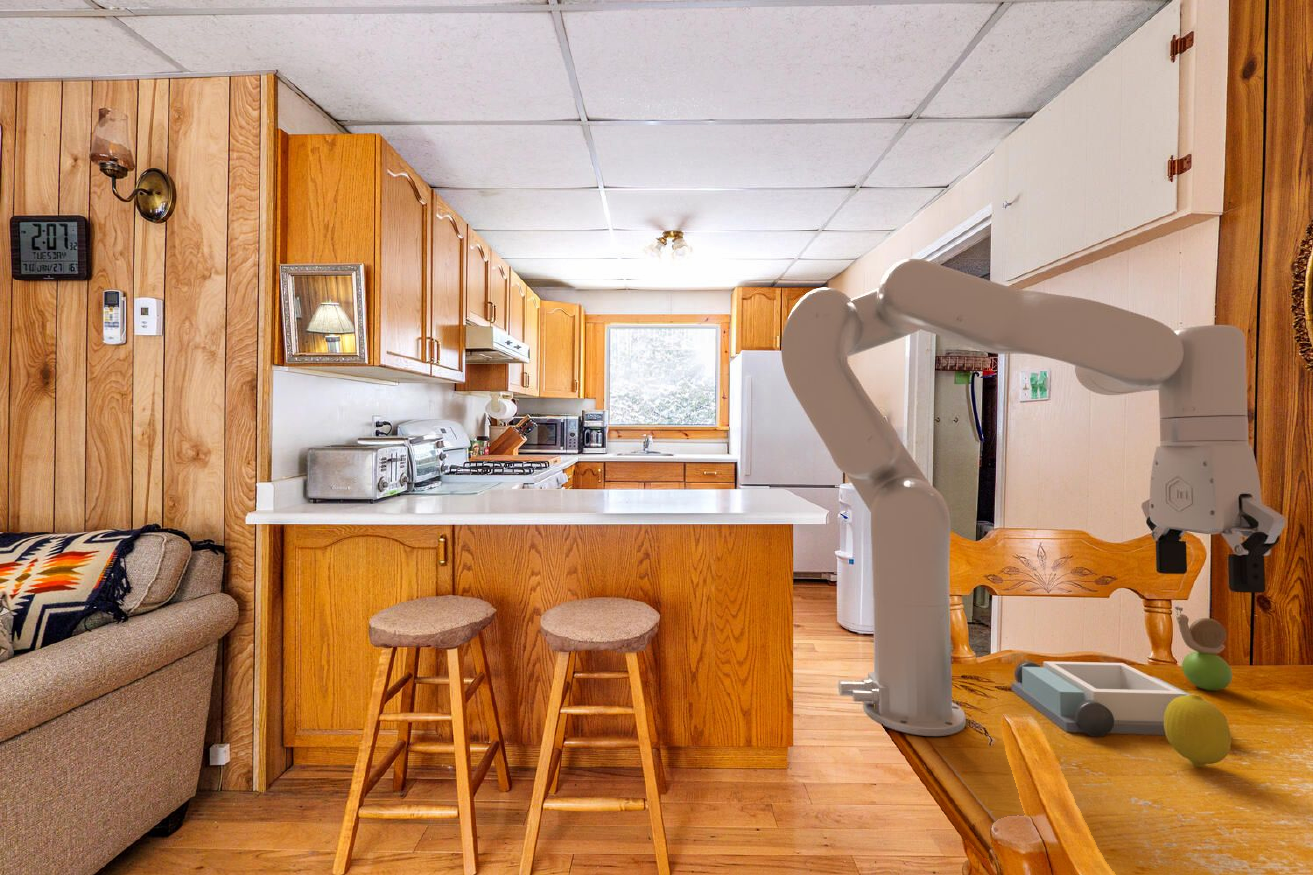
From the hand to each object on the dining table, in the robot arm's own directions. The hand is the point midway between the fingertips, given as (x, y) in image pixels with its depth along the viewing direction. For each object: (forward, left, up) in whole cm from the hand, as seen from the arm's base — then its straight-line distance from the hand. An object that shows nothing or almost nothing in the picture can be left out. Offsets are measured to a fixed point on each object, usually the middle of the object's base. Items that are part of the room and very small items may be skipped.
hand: (1206, 581), depth 67 cm
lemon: (-3, -2, -20) cm, 21 cm away
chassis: (-3, +12, -20) cm, 24 cm away
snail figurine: (+16, +21, -20) cm, 33 cm away
